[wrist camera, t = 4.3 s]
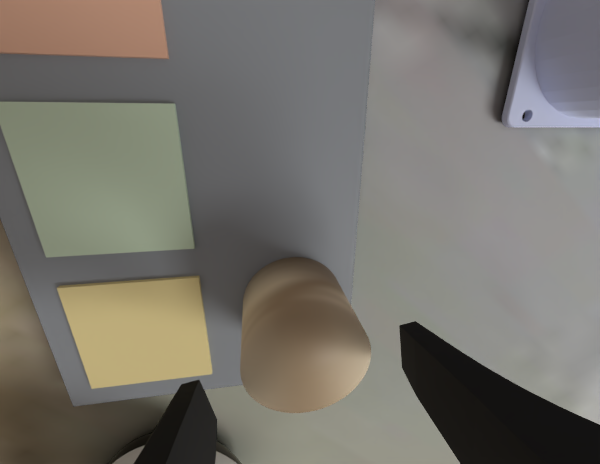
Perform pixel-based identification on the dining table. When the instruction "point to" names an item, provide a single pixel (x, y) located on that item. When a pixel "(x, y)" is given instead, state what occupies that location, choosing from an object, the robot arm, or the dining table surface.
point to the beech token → (300, 338)
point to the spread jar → (127, 456)
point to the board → (174, 172)
